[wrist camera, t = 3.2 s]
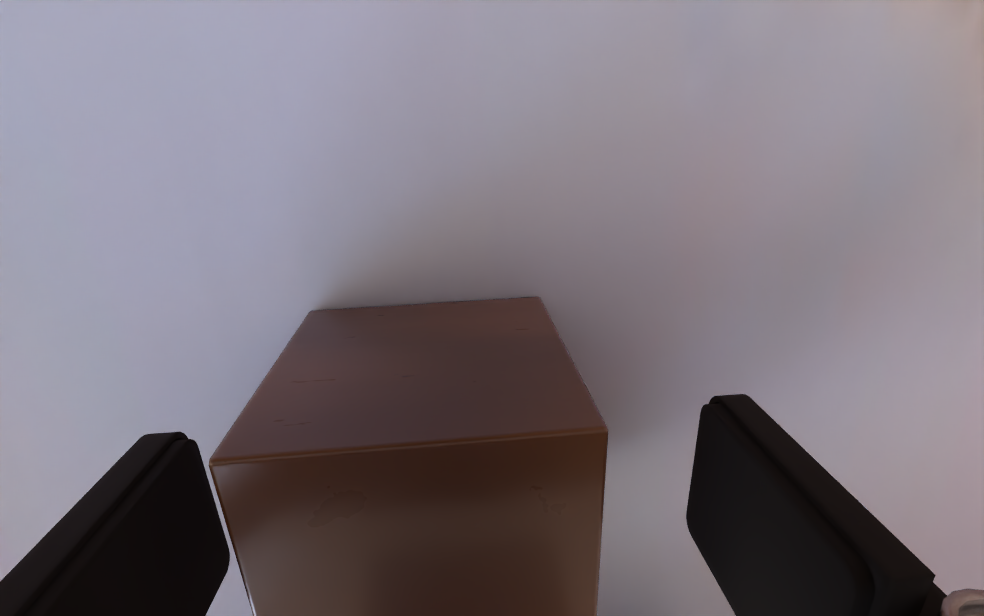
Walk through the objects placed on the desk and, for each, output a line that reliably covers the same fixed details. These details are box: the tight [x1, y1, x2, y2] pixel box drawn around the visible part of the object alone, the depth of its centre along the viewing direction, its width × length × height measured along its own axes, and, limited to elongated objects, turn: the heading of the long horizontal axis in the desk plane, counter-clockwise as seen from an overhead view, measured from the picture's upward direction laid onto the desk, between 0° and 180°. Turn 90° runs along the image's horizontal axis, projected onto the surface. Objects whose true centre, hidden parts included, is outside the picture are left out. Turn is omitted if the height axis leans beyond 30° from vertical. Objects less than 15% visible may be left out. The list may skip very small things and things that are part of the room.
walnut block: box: [209, 297, 608, 616], centre depth 9 cm, size 5×5×5 cm
